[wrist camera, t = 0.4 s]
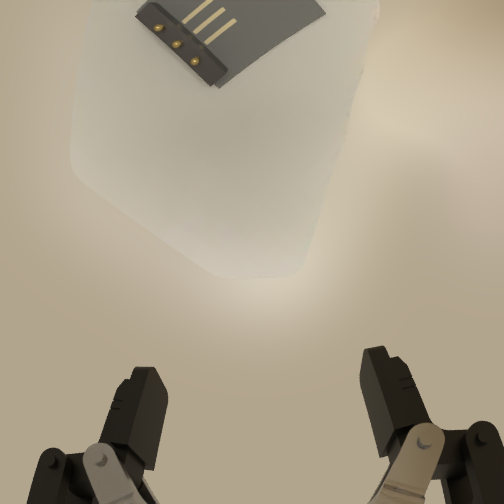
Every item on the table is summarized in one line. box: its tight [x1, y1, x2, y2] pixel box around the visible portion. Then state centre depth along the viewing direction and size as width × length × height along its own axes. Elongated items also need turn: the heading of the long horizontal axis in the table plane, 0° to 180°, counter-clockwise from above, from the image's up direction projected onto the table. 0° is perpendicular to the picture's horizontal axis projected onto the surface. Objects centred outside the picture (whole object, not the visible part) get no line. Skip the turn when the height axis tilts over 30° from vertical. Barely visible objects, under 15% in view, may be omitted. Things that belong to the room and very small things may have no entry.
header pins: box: [154, 24, 201, 65], centre depth 23 cm, size 6×1×2 cm, turn 40°
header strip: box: [135, 2, 228, 86], centre depth 24 cm, size 11×2×3 cm, turn 40°
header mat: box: [137, 0, 326, 88], centre depth 23 cm, size 13×14×1 cm
